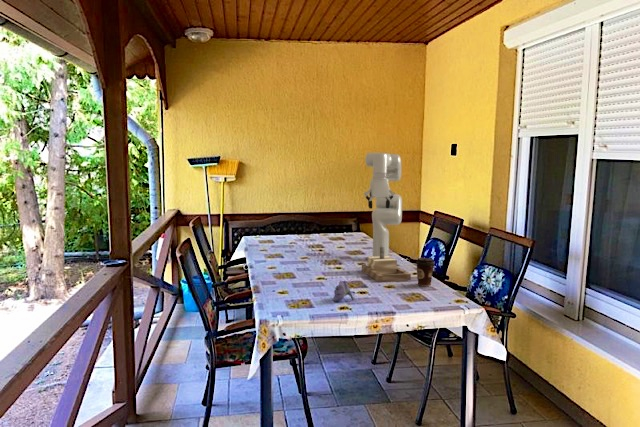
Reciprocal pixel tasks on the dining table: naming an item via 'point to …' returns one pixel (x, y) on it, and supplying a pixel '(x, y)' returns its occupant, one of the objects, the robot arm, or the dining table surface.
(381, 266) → the square knob plate
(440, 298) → the dining table surface
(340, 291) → the grey arched piece
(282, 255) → the dining table surface
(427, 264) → the coffee cup
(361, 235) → the dining table surface
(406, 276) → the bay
